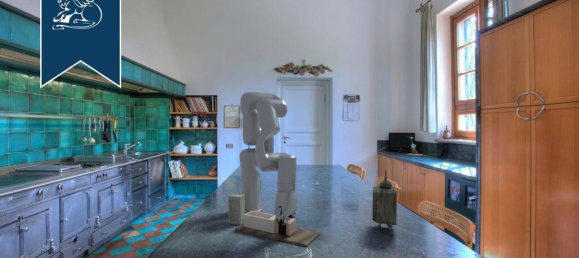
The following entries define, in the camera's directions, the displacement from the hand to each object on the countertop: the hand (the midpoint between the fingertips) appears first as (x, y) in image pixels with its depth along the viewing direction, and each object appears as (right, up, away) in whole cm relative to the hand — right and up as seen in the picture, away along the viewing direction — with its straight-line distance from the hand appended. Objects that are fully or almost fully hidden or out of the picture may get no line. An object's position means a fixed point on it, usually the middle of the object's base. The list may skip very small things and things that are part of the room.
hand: (286, 231), depth 106 cm
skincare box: (-22, -1, +13) cm, 26 cm away
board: (-4, -1, +2) cm, 5 cm away
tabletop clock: (+41, -2, +6) cm, 42 cm away
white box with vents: (-10, -1, +5) cm, 11 cm away
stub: (0, 0, 0) cm, 0 cm away
